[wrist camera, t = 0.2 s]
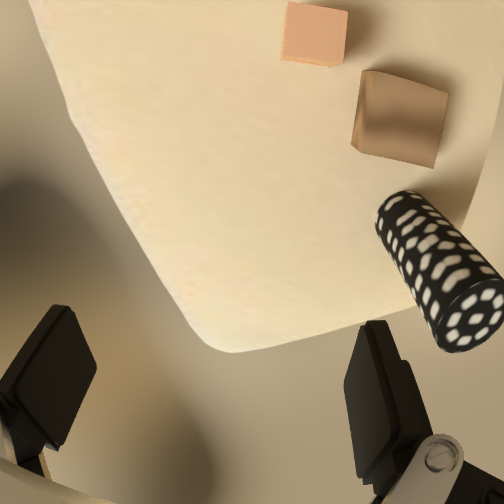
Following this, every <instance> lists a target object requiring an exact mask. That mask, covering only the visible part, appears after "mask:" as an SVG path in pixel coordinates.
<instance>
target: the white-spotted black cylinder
mask: <svg viewBox="0 0 504 504" xmlns="http://www.w3.org/2000/svg"><path fill="white" fill-rule="evenodd" d="M375 226H376V231H377V234H378V236H379V238H380V240H381V241H382V243H383V245H384V246H385V248H386V250H387V251H388V253H389V255H390V256H391V258H392V260H393V261H394V263H395V265H396V267H397V268H398V270H399V272H400V274H401V275H402V277H403V279H404V281H405V283H406V284H407V286H408V288H409V290H410V292H411V294H412V295H413V297H414V299H415V301H416V303H417V305H418V307H419V308H420V310H421V312H422V314H423V316H424V318H425V320H426V322H427V324H428V326H429V328H430V330H431V332H432V334H433V336H434V338H435V340H436V342H437V345H438V346H439V347H440V348H441V349H442V350H443V351H445V352H449V353H460V352H465V351H468V350H471V349H473V348H475V347H477V346H479V345H480V344H482V343H483V342H485V341H486V340H487V339H489V338H490V337H491V336H492V335H493V334H494V333H495V332H496V331H497V330H498V329H499V327H500V326H501V325H502V323H503V322H504V279H503V278H502V277H501V276H500V275H499V273H498V272H497V271H496V270H495V269H494V268H493V267H492V265H491V264H490V263H489V262H488V261H487V260H486V259H485V258H484V257H483V256H482V255H481V253H480V252H479V251H478V250H477V249H476V248H475V247H474V246H473V245H472V244H471V243H470V242H469V241H468V240H467V239H466V238H465V237H464V236H463V235H462V234H461V233H460V232H459V231H458V230H457V229H456V228H455V227H454V226H453V225H452V224H451V223H450V222H449V221H448V220H447V219H446V218H445V217H444V216H443V215H442V214H441V213H440V212H439V211H438V210H437V209H435V208H434V207H433V206H432V205H431V204H430V203H429V202H428V201H427V200H426V199H424V198H423V197H422V196H421V195H420V194H418V193H416V192H412V191H402V192H398V193H395V194H393V195H392V196H390V197H389V198H387V199H386V200H385V201H384V202H383V204H382V205H381V206H380V208H379V210H378V212H377V216H376V221H375Z"/></svg>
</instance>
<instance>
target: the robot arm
mask: <svg viewBox="0 0 504 504" xmlns="http://www.w3.org/2000/svg"><path fill="white" fill-rule="evenodd" d="M96 369H97V365H96V362H95V360H94V358H93V355H92V353H91V351H90V349H89V346H88V344H87V342H86V340H85V337H84V335H83V333H82V330H81V328H80V325H79V323H78V320H77V318H76V316H75V313H74V312H73V311H72V310H71V308H70V307H69V306H64V305H57V304H55V305H53V306H52V307H51V308H50V309H49V310H48V312H47V313H46V314H45V316H44V317H43V318H42V320H41V321H40V322H39V324H38V325H37V327H36V328H35V329H34V331H33V332H32V334H31V335H30V336H29V338H28V339H27V341H26V342H25V343H24V345H23V347H22V348H21V349H20V351H19V352H18V354H17V355H16V357H15V358H14V360H13V361H12V363H11V364H10V366H9V368H8V369H7V371H6V372H5V374H4V375H3V377H2V378H1V380H0V504H117V503H113V502H109V501H106V500H103V499H100V498H96V497H94V496H90V495H88V494H84V493H82V492H79V491H76V490H74V489H71V488H68V487H66V486H63V485H61V484H58V483H56V482H53V481H52V479H51V476H50V473H49V470H48V467H47V464H46V461H45V458H44V454H43V451H42V450H43V447H44V445H45V446H46V447H47V448H49V449H52V450H54V451H57V452H58V450H59V448H60V446H61V445H63V444H64V442H65V440H66V438H67V436H68V433H69V431H70V429H71V426H72V424H73V422H74V419H75V417H76V414H77V412H78V410H79V408H80V406H81V403H82V401H83V399H84V397H85V395H86V392H87V390H88V388H89V386H90V384H91V382H92V379H93V377H94V375H95V373H96ZM344 393H345V399H346V405H347V411H348V418H349V424H350V431H351V437H352V444H353V451H354V459H355V466H356V473H357V476H358V478H362V479H363V485H368V484H373V489H374V493H375V494H376V495H375V496H374V498H373V499H372V501H371V502H370V503H369V504H504V482H503V481H502V480H500V479H498V478H496V477H494V476H492V475H490V474H488V473H487V472H485V471H483V470H481V469H479V468H477V467H475V466H473V465H471V464H470V463H468V462H466V461H464V453H463V450H462V447H461V446H460V444H459V443H458V441H457V440H455V439H454V438H453V437H451V436H449V435H445V434H435V435H433V432H432V428H431V425H430V422H429V418H428V415H427V412H426V409H425V406H424V403H423V401H422V397H421V394H420V391H419V389H418V386H417V383H416V380H415V377H414V374H413V372H412V369H411V366H410V364H409V362H408V361H407V360H401V358H400V356H399V353H398V350H397V347H396V345H395V342H394V339H393V337H392V334H391V331H390V329H389V326H388V324H387V322H386V321H385V320H371V321H367V322H366V324H365V325H363V326H360V329H359V332H358V336H357V340H356V344H355V347H354V350H353V354H352V357H351V360H350V363H349V366H348V370H347V373H346V376H345V379H344Z"/></svg>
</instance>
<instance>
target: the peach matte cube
mask: <svg viewBox="0 0 504 504" xmlns="http://www.w3.org/2000/svg"><path fill="white" fill-rule="evenodd" d="M347 18H348V12H347V11H342V10H337V9H332V8H327V7H321V6H315V5H309V4H302V3H295V2H288V5H287V9H286V13H285V19H284V30H283V40H282V50H281V59H280V60H283V61H291V62H299V63H306V64H312V65H319V66H325V67H333V66H337V65H341V64H343V58H344V49H345V39H346V29H347Z"/></svg>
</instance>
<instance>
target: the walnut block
mask: <svg viewBox="0 0 504 504" xmlns="http://www.w3.org/2000/svg"><path fill="white" fill-rule="evenodd" d="M447 99H448V93H446V92H443V91H440V90H438V89H435V88H432V87H429V86H426V85H423V84H420V83H417V82H414V81H410V80H407V79H404V78H400V77H397V76H393V75H390V74H386V73H382V72H379V71H375V70H374V71H362V74H361V82H360V89H359V96H358V103H357V109H356V116H355V122H354V128H353V134H352V140H351V145H352V146H354V147H355V148H356V149H357V150H358V151H360V152H361V153H364V154H369V155H375V156H379V157H384V158H389V159H394V160H398V161H403V162H407V163H411V164H416V165H420V166H424V167H428V168H432V169H433V168H434V164H435V160H436V156H437V151H438V147H439V142H440V137H441V132H442V127H443V122H444V117H445V111H446V105H447Z"/></svg>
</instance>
